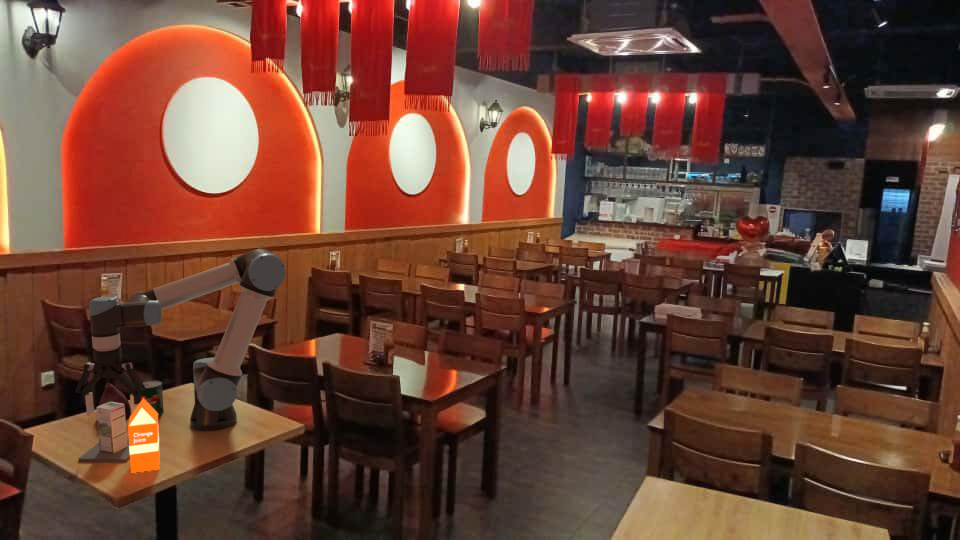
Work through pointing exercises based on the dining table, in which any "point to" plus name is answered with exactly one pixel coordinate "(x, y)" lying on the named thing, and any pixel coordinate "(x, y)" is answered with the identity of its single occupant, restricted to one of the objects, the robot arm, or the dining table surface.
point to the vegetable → (115, 398)
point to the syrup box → (111, 427)
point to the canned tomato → (153, 395)
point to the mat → (105, 455)
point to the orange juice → (144, 438)
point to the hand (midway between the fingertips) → (112, 414)
